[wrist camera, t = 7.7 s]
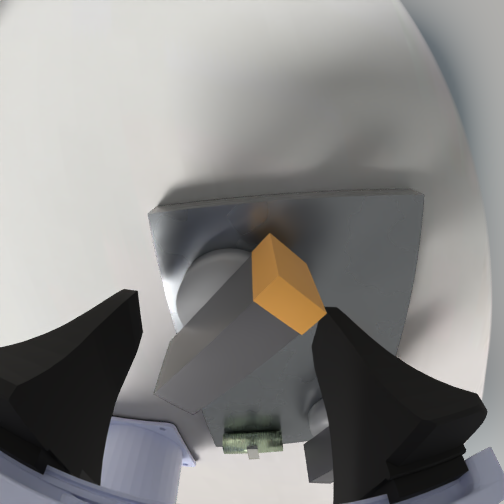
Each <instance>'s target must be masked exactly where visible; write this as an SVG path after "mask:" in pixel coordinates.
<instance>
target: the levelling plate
mask: <svg viewBox="0 0 504 504" xmlns="http://www.w3.org/2000/svg"><path fill="white" fill-rule="evenodd" d="M423 205H424V194H422V193H419V192H417V191H415V190H412V189H376V190H343V191H321V192H303V193H287V194H273V195H260V196H248V197H237V198H226V199H216V200H207V201H198V202H189V203H180V204H172V205H164V206H157V207H155V208H154V209H153V210H152V211H150V212H149V213H148V218H149V224H150V229H151V234H152V238H153V243H154V248H155V252H156V257H157V261H158V266H159V270H160V274H161V278H162V282H163V286H164V290H165V294H166V298H167V302H168V306H169V309H170V313H171V317H172V320H173V324H174V327H175V331H176V334H177V333H178V332H179V331H180V330H181V329H182V328H183V327H184V326H183V324H182V323H181V321H180V319H179V316H178V313H177V308H176V297H177V293H178V290H179V287H180V285H181V282H182V280H183V277H184V275H185V273H186V271H187V269H188V268H189V266H190V265H191V264H192V263H193V262H194V261H195V260H196V259H198V258H199V257H200V256H202V255H204V254H206V253H208V252H211V251H214V250H218V249H225V248H233V249H240V250H245V251H248V252H250V253H252V251H253V250H254V249H255V248H256V247H257V246H258V245H259V244H260V243H261V242H262V240H263V239H264V238H265V237H266V236H267V235H268V234H269V233H271V234H272V235H273V236H274V237H276V238H277V239H278V240H279V241H280V242H282V243H283V244H284V245H285V246H286V247H287V248H289V249H290V250H291V251H292V252H293V253H295V254H296V255H297V256H298V257H299V258H300V259H302V260H303V261H304V262H305V263H306V264H307V266H308V268H309V271H310V273H311V275H312V278H313V280H314V283H315V285H316V288H317V290H318V292H319V295H320V297H321V300H322V302H323V305H324V307H337V308H339V309H340V310H341V311H342V312H343V313H345V314H346V315H347V316H348V317H349V318H350V319H351V320H352V321H353V322H354V323H356V324H357V325H358V326H359V327H360V328H361V329H362V330H363V331H364V332H365V333H367V334H368V335H369V336H370V337H371V338H372V339H374V340H375V341H376V342H377V343H378V344H380V345H381V346H382V347H384V348H385V349H386V350H387V351H389V352H390V353H391V354H393V355H394V356H396V353H397V350H398V346H399V342H400V339H401V335H402V331H403V327H404V323H405V319H406V315H407V311H408V306H409V302H410V297H411V292H412V287H413V282H414V276H415V270H416V264H417V258H418V251H419V244H420V236H421V227H422V217H423ZM317 325H318V322H317V323H316V324H314V325H313V326H312V327H311V328H310V329H309V330H307V331H306V332H305V333H304V334H303V335H301V334H299V335H298V336H297V337H296V338H294V339H293V340H292V341H291V342H290V343H288V344H287V345H286V346H285V347H284V348H282V349H281V350H280V351H279V352H277V353H276V354H275V355H274V356H272V357H271V358H270V359H269V360H267V361H266V362H265V363H264V364H262V365H261V366H260V367H258V368H257V369H256V370H255V371H253V372H252V373H251V374H249V375H248V376H247V377H245V378H244V379H243V380H241V381H240V382H239V383H237V384H236V385H235V386H233V387H232V388H231V389H229V390H228V391H226V392H225V393H224V394H222V395H221V396H219V397H218V398H217V399H215V400H214V401H212V402H211V403H210V404H208V405H207V406H205V407H204V408H202V409H201V410H202V412H203V415H204V417H205V420H206V423H207V425H208V428H209V430H210V433H211V435H212V438H213V440H214V443H215V445H216V447H223V451H224V454H244V453H248V456H249V459H259V453H265V452H278V451H283V444H286V443H296V442H304V441H309V440H311V439H312V438H313V437H314V436H313V435H312V434H311V431H310V425H309V420H308V413H309V411H310V409H311V408H312V406H313V405H314V404H316V403H317V402H318V401H320V400H321V399H323V398H322V394H321V390H320V387H319V383H318V380H317V376H316V372H315V368H314V362H313V355H312V347H311V346H312V342H313V339H314V335H315V332H316V328H317Z"/></svg>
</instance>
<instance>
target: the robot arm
mask: <svg viewBox="0 0 504 504" xmlns="http://www.w3.org/2000/svg"><path fill="white" fill-rule="evenodd" d="M325 310H326V312H327V314H326V315H325V316H323V317H322V318H321V319H320V320H319V321H318V325H317V328H316V332H315V335H314V339H313V342H312V346H311V347H312V355H313V362H314V368H315V372H316V376H317V380H318V383H319V387H320V390H321V394H322V398H323V401H324V405H325V409H326V413H327V417H328V423H329V430H330V438H331V448H332V459H333V479H334V500H333V504H499V503H500V502H501V501H503V500H504V473H503V471H502V469H501V466H500V464H499V462H498V460H497V458H496V456H495V454H494V452H493V450H492V448H491V447H488V448H486V449H484V450H482V451H481V452H479V453H477V454H475V455H473V456H471V457H470V458H468V459H466V460H465V461H464V458H463V456H462V455H463V454H464V453H465V452H466V449H465V447H464V445H463V444H464V443H465V442H466V441H467V440H468V439H469V438H470V437H471V435H472V434H473V433H474V432H475V431H476V430H477V429H478V428H479V427H480V425H481V424H482V423H483V421H484V420H485V418H486V415H487V409H486V408H485V406H484V404H483V402H482V401H481V399H480V397H479V396H478V394H476V393H473V392H469V391H466V390H463V389H459V388H456V387H453V386H451V385H448V384H446V383H443V382H441V381H438V380H436V379H434V378H432V377H430V376H428V375H426V374H424V373H422V372H420V371H418V370H416V369H415V368H413V367H411V366H409V365H408V364H406V363H405V362H403V361H402V360H400V359H399V358H397V357H396V356H394V355H393V354H391V353H390V352H389V351H387V350H386V349H385V348H384V347H382V346H381V345H380V344H378V343H377V342H376V341H375V340H374V339H372V338H371V337H370V336H369V335H368V334H367V333H365V332H364V331H363V330H362V329H361V328H360V327H359V326H358V325H357V324H356V323H354V322H353V321H352V320H351V319H350V318H349V317H348V316H347V315H346V314H345V313H343V312H342V311H341V310H340V309H339V308H337V307H325ZM142 333H143V329H142V322H141V315H140V307H139V299H138V291H134V290H127V289H123V290H121V291H119V292H118V293H116V294H114V295H113V296H111V297H109V298H108V299H106V300H105V301H103V302H102V303H100V304H99V305H97V306H95V307H94V308H92V309H91V310H89V311H88V312H86V313H84V314H82V315H81V316H79V317H77V318H75V319H74V320H72V321H70V322H69V323H67V324H65V325H63V326H61V327H59V328H57V329H55V330H52V331H50V332H48V333H46V334H43V335H40V336H38V337H35V338H32V339H30V340H27V341H24V342H20V343H17V344H13V345H9V346H5V347H0V504H176V500H177V493H178V486H179V479H180V472H181V466H189V467H194V466H196V462H195V460H194V458H193V457H192V455H191V453H190V452H189V450H188V448H187V446H186V445H185V443H184V441H183V439H182V438H181V436H180V434H179V432H178V430H177V428H176V427H175V425H173V424H171V423H164V422H152V421H142V420H134V419H126V418H119V417H112V413H113V410H114V406H115V402H116V400H117V397H118V394H119V392H120V390H121V387H122V385H123V383H124V380H125V378H126V376H127V374H128V371H129V369H130V367H131V365H132V362H133V360H134V358H135V356H136V353H137V350H138V347H139V344H140V340H141V337H142Z"/></svg>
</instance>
